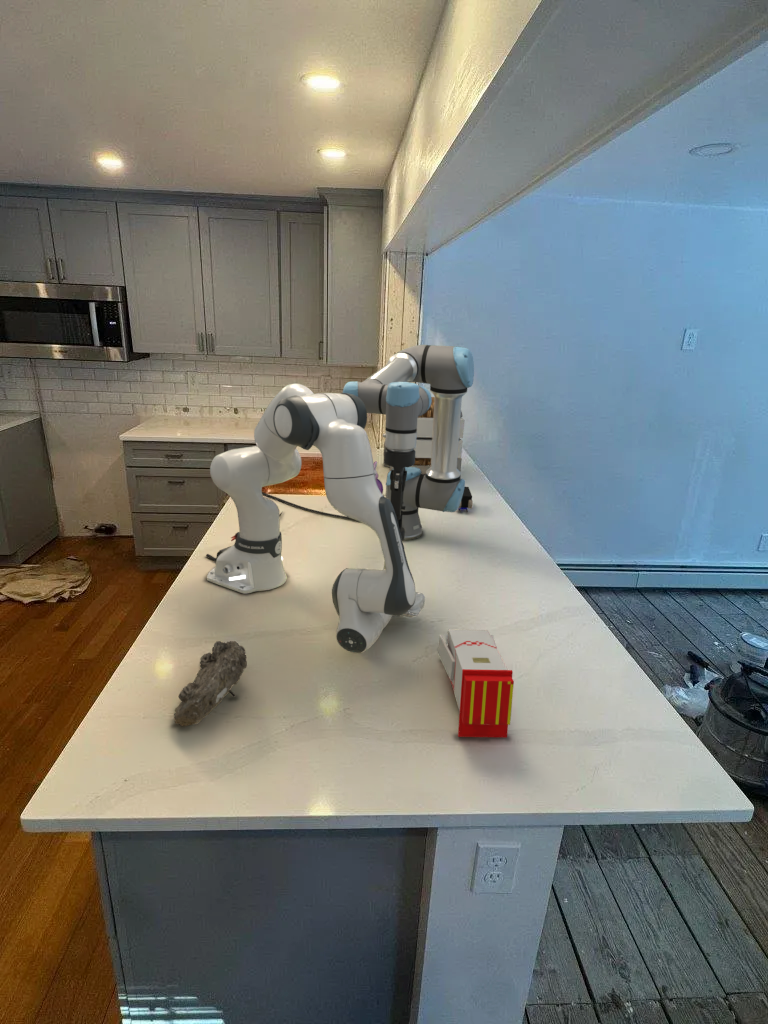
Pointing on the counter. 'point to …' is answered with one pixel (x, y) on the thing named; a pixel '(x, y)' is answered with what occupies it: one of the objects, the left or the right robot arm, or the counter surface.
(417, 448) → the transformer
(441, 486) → the right robot arm
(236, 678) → the fossil
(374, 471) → the figurine
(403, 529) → the cap
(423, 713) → the counter surface
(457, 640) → the toy
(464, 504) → the figurine character
